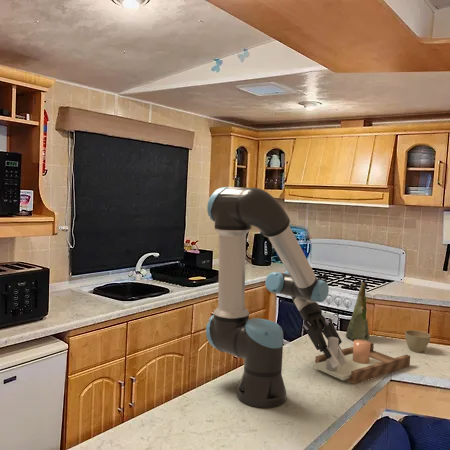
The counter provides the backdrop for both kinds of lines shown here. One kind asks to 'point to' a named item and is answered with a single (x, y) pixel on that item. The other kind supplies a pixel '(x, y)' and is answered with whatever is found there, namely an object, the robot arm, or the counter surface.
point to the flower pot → (417, 340)
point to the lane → (375, 370)
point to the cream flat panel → (340, 371)
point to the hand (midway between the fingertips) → (340, 365)
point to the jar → (361, 351)
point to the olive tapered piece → (359, 318)
